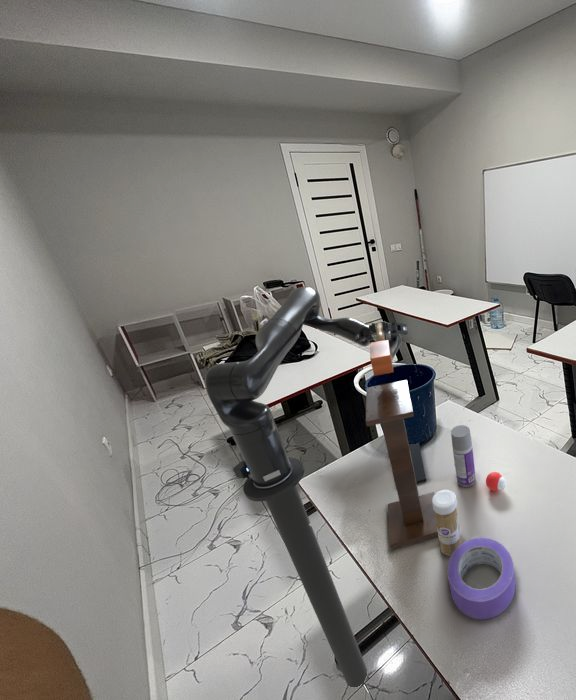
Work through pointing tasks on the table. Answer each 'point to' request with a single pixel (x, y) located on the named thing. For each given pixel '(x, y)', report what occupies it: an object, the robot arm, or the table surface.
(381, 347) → the copper block with handle
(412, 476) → the wooden pedestal stand
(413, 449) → the drying mat
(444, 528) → the sprinkles bottle
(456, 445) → the container
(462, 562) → the tape roll
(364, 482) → the table surface
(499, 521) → the table surface
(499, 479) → the molecule
